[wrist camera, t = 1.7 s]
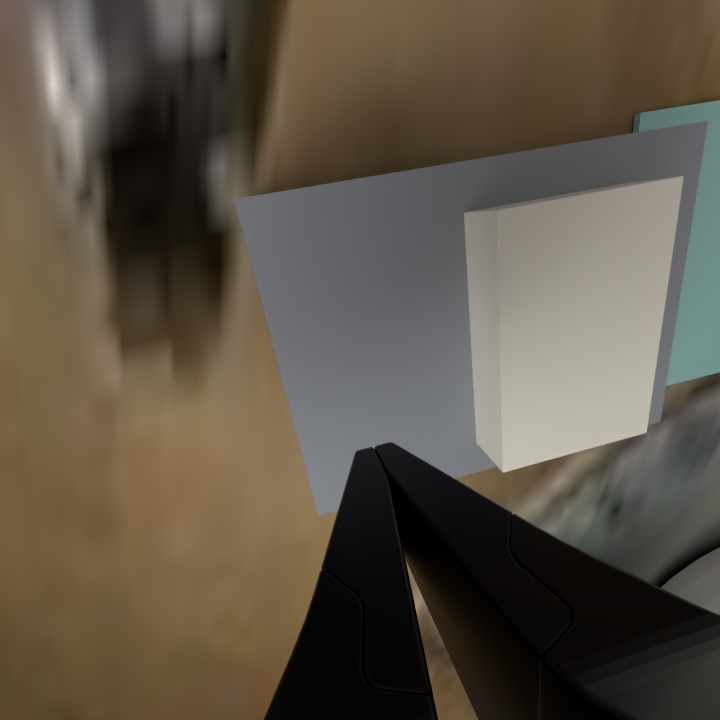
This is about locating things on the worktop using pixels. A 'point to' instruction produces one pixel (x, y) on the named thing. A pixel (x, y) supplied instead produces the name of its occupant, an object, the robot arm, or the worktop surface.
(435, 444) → the deck
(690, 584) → the pot
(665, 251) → the block
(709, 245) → the mat
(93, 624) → the worktop surface
